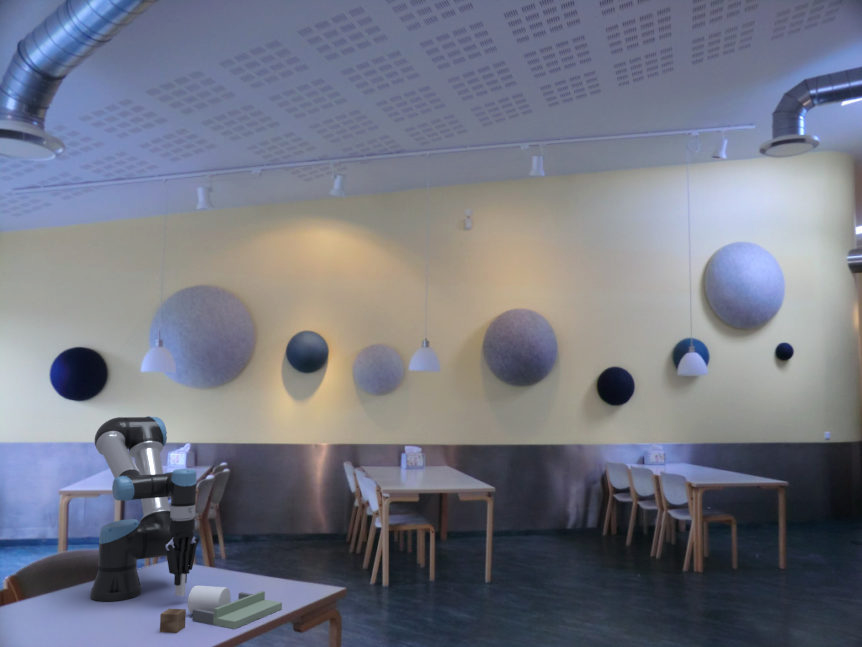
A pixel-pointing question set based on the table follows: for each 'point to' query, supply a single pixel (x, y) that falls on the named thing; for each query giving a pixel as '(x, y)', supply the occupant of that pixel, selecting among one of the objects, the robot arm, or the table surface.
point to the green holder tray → (238, 611)
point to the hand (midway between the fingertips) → (180, 595)
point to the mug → (208, 598)
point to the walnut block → (172, 620)
